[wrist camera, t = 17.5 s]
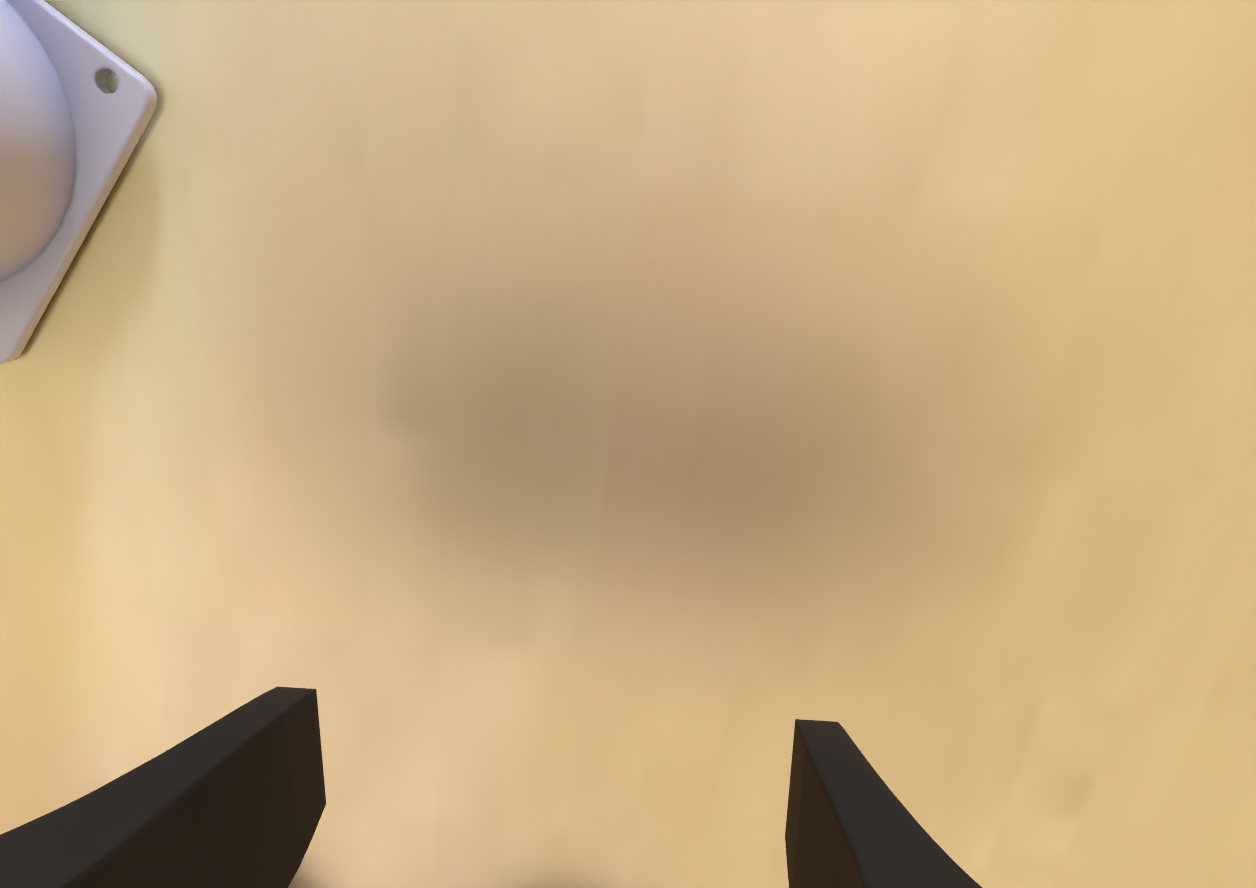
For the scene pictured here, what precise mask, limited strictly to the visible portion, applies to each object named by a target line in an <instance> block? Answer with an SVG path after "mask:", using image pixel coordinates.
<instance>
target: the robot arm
mask: <svg viewBox="0 0 1256 888" xmlns="http://www.w3.org/2000/svg"><path fill="white" fill-rule="evenodd" d="M111 71H113V72H114V74H115V75H116V76H117V80H118V86H117V90H116V91H115V92H114V93H112V92H111V91H110V90H109V89H108V87H107V83H106V79H107V75H108V74H109V73H110V72H111ZM156 106H157V95H156V92H155V90H154V88H153V85H152V84H151V83H150V82H149V81H148V80H147V79H146V78H145V77H144V76H142V75H141V74H140V73H139V72H137V71H136V70H135V69H133V68H132V67H131V66H129V65H128V64H127V63H125V62H124V61H123V60H121V59H120V58H119V57H118V56H116V55H115V54H114V53H112V52H111V51H110V50H108V49H107V48H106V47H104V46H103V45H102V44H100V43H99V42H98V41H97V40H95V39H94V38H93V37H91V36H90V35H89V34H87V33H86V32H85V31H83V30H82V29H81V28H80V27H78V26H77V25H76V24H74V23H73V22H72V21H70V20H69V19H68V18H66V17H65V16H64V15H62V14H61V13H60V12H59V11H57V10H56V9H55V8H53V7H52V6H51V5H49V4H48V3H47V2H45V1H44V0H0V364H2V363H5V362H9V361H12V360H15V359H17V358H18V357H19V356H20V355H21V353H22V351H23V349H24V348H25V346H26V344H27V342H28V340H29V339H30V337H31V335H32V333H33V331H34V330H35V328H36V326H37V324H38V322H39V321H40V319H41V317H42V315H43V313H44V311H45V310H46V308H47V306H48V304H49V302H50V301H51V299H52V297H53V295H54V293H55V292H56V290H57V288H58V286H59V284H60V282H61V281H62V279H63V277H64V275H65V273H66V272H67V270H68V268H69V266H70V264H71V263H72V261H73V259H74V257H75V255H76V253H77V252H78V250H79V248H80V246H81V244H82V243H83V241H84V239H85V237H86V235H87V234H88V232H89V230H90V228H91V226H92V224H93V223H94V221H95V219H96V217H97V215H98V214H99V212H100V210H101V208H102V206H103V205H104V203H105V201H106V199H107V197H108V195H109V194H110V192H111V190H112V188H113V186H114V185H115V183H116V181H117V179H118V177H119V176H120V174H121V172H122V170H123V168H124V166H125V165H126V163H127V161H128V159H129V157H130V156H131V154H132V152H133V150H134V148H135V147H136V145H137V143H138V141H139V139H140V137H141V136H142V134H143V132H144V130H145V128H146V127H147V125H148V123H149V121H150V119H151V118H152V116H153V114H154V112H155V109H156ZM325 805H326V797H325V786H324V774H323V763H322V751H321V740H320V728H319V717H318V705H317V694H316V689H305V688H289V687H276V688H274V689H272V690H270V691H268V692H266V693H264V694H262V695H260V696H258V697H257V698H255V699H253V700H251V701H250V702H248V703H246V704H244V705H243V706H241V707H239V708H238V709H236V710H234V711H233V712H231V713H229V714H228V715H226V716H224V717H223V718H221V719H219V720H218V721H216V722H214V723H213V724H211V725H209V726H208V727H206V728H204V729H203V730H201V731H199V732H198V733H196V734H194V735H193V736H191V737H189V738H187V739H186V740H184V741H182V742H181V743H179V744H177V745H176V746H174V747H172V748H171V749H169V750H167V751H166V752H164V753H162V754H160V755H159V756H157V757H155V758H153V759H152V760H150V761H148V762H146V763H144V764H142V765H141V766H139V767H137V768H135V769H133V770H131V771H130V772H128V773H126V774H124V775H122V776H120V777H119V778H117V779H115V780H113V781H111V782H110V783H108V784H106V785H104V786H102V787H100V788H99V789H97V790H95V791H93V792H91V793H89V794H87V795H85V796H83V797H81V798H79V799H77V800H75V801H73V802H71V803H69V804H67V805H65V806H63V807H61V808H59V809H57V810H55V811H53V812H50V813H48V814H46V815H44V816H42V817H39V818H37V819H35V820H33V821H31V822H28V823H26V824H24V825H22V826H20V827H17V828H15V829H13V830H11V831H8V832H6V833H4V834H1V835H0V888H288V886H289V884H290V882H291V881H292V879H293V877H294V875H295V874H296V872H297V870H298V868H299V866H300V864H301V862H302V860H303V858H304V855H305V853H306V851H307V848H308V846H309V844H310V842H311V839H312V837H313V835H314V832H315V830H316V827H317V825H318V822H319V820H320V817H321V815H322V812H323V810H324V807H325ZM785 841H786V854H787V868H788V880H789V888H982V887H981V886H980V885H979V884H977V883H976V882H975V881H974V880H973V879H972V878H971V877H970V876H969V875H968V874H967V873H965V872H964V871H963V870H962V869H961V868H960V867H959V866H958V865H957V864H956V863H955V862H954V861H953V860H952V859H951V858H950V857H949V856H948V855H947V854H946V853H945V852H944V851H943V850H942V848H941V847H940V846H939V845H938V844H937V843H936V842H935V841H934V840H933V839H932V838H931V837H930V836H929V835H928V833H927V832H926V831H925V830H924V829H923V828H922V827H921V826H920V825H919V823H918V822H917V821H916V820H915V819H914V818H913V816H912V815H911V814H910V813H909V812H908V811H907V809H906V808H905V807H904V806H903V805H902V803H901V802H900V801H899V800H898V799H897V797H896V796H895V795H894V794H893V793H892V791H891V790H890V789H889V788H888V786H887V785H886V784H885V783H884V781H883V780H882V779H881V778H880V776H879V775H878V774H877V772H876V771H875V770H874V769H873V767H872V766H871V765H870V763H869V762H868V761H867V759H866V758H865V757H864V755H863V754H862V753H861V751H860V750H859V749H858V747H857V746H856V745H855V743H854V742H853V741H852V739H851V738H850V736H849V735H848V734H847V732H846V731H845V730H844V728H843V727H842V726H841V725H840V724H839V723H838V722H831V721H815V720H799V719H796V720H795V731H794V742H793V753H792V765H791V776H790V787H789V798H788V810H787V821H786V832H785Z"/></svg>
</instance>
